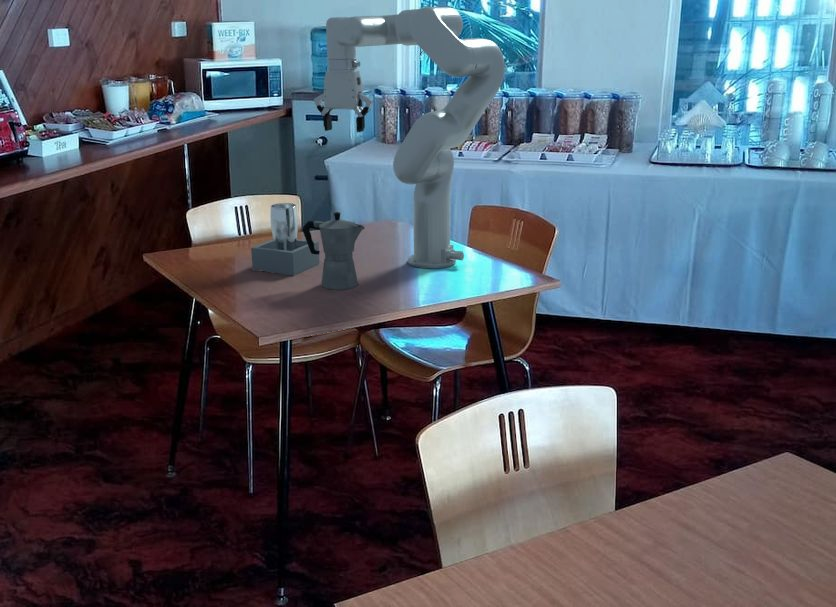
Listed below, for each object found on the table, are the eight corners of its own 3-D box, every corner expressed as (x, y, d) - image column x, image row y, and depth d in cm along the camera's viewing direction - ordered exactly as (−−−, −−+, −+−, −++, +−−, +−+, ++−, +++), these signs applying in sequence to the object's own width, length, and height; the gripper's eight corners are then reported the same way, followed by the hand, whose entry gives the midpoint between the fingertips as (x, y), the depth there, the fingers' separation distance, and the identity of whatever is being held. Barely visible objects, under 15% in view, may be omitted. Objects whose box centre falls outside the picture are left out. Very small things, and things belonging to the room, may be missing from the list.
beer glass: (298, 265, 234) (295, 208, 230) (270, 265, 235) (267, 208, 230) (301, 258, 241) (299, 202, 236) (275, 258, 241) (272, 202, 237)
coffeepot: (370, 280, 226) (369, 209, 220) (360, 291, 217) (358, 217, 212) (311, 277, 229) (308, 206, 223) (298, 288, 220) (295, 215, 215)
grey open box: (319, 263, 241) (318, 241, 239) (294, 275, 230) (292, 252, 229) (279, 258, 246) (278, 237, 244) (252, 270, 235) (251, 247, 234)
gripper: (377, 65, 243) (379, 130, 248) (319, 64, 249) (322, 128, 255) (365, 67, 236) (367, 133, 242) (306, 66, 243) (309, 131, 248)
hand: (344, 130), depth 248 cm, fingers open, 9 cm apart
